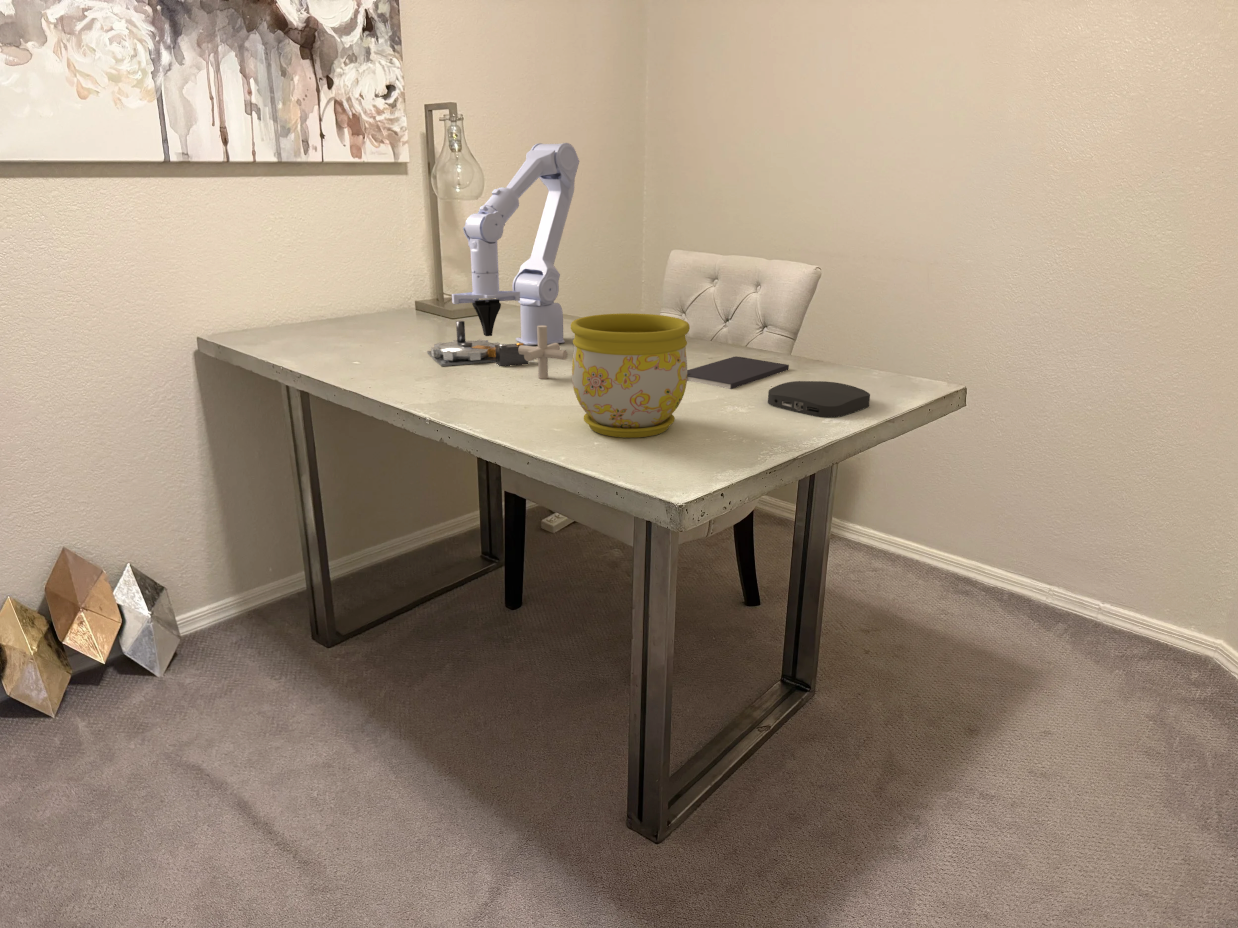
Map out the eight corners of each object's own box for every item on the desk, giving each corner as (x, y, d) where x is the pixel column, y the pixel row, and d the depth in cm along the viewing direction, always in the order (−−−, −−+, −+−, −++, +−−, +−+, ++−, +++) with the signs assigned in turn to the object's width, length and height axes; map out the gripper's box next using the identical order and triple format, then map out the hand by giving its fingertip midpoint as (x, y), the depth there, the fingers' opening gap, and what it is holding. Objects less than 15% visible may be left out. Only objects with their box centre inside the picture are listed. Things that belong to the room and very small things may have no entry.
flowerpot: (680, 410, 143) (683, 313, 137) (692, 443, 126) (696, 333, 120) (572, 411, 142) (571, 312, 137) (570, 444, 125) (569, 333, 120)
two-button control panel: (523, 362, 178) (523, 341, 177) (528, 365, 175) (527, 344, 174) (496, 364, 176) (495, 343, 174) (500, 367, 173) (499, 346, 172)
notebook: (730, 392, 157) (788, 372, 172) (731, 383, 156) (789, 364, 172) (675, 381, 165) (735, 363, 180) (675, 373, 164) (735, 355, 179)
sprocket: (490, 344, 190) (489, 317, 188) (509, 357, 178) (508, 328, 176) (425, 349, 185) (423, 321, 183) (440, 363, 172) (438, 333, 170)
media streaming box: (877, 406, 147) (879, 389, 146) (831, 422, 138) (832, 404, 137) (806, 390, 157) (807, 375, 156) (758, 405, 148) (759, 388, 147)
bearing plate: (490, 348, 190) (490, 346, 190) (508, 361, 178) (507, 358, 178) (427, 353, 185) (427, 351, 185) (441, 366, 173) (441, 364, 173)
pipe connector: (507, 380, 162) (505, 328, 159) (535, 370, 170) (534, 320, 167) (551, 386, 158) (550, 332, 154) (578, 375, 166) (578, 324, 163)
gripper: (455, 275, 175) (459, 341, 180) (523, 272, 181) (525, 336, 185) (448, 272, 181) (451, 335, 186) (513, 269, 187) (515, 330, 191)
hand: (487, 335), depth 186 cm, fingers closed
